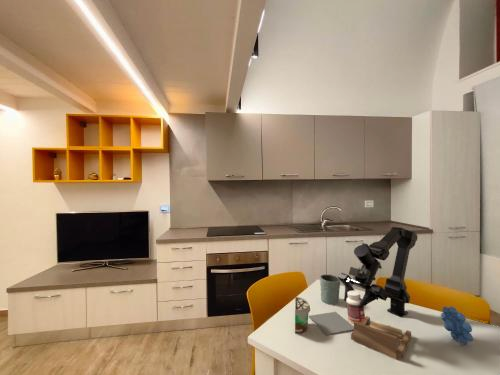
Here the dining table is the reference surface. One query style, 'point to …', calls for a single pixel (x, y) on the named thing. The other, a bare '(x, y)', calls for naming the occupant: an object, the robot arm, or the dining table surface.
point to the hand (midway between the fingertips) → (352, 304)
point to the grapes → (456, 325)
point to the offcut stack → (388, 330)
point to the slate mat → (331, 323)
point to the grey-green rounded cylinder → (330, 289)
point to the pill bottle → (355, 307)
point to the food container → (301, 315)
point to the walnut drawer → (379, 339)
